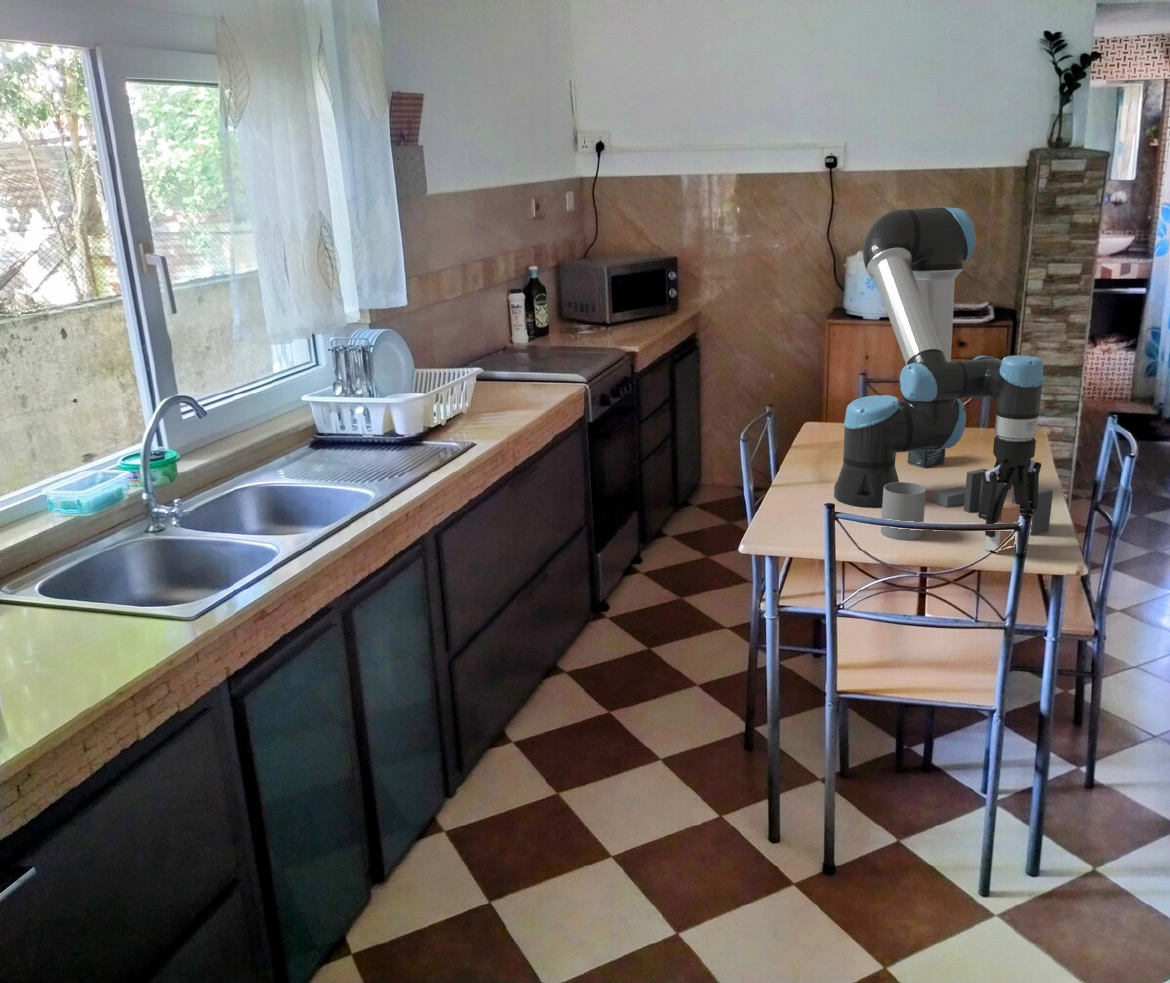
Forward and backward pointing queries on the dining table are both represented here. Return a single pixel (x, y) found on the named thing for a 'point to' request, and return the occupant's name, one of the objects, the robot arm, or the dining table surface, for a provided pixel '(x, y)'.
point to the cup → (903, 508)
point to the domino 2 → (1008, 521)
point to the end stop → (950, 496)
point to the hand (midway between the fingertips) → (1004, 547)
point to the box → (926, 457)
